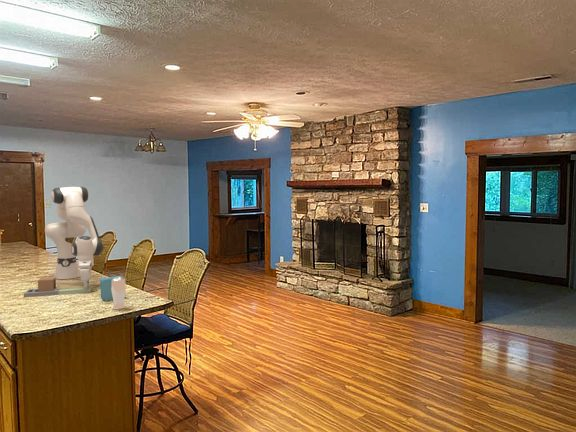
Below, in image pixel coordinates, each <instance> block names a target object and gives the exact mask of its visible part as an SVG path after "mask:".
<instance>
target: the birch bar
mask: <svg viewBox="0 0 576 432" xmlns="http://www.w3.org/2000/svg"><path fill="white" fill-rule="evenodd" d="M56 287H57V290H61V289H75V288H86V287H84V283H83V281H81V279H80V280H67V281H56Z"/></svg>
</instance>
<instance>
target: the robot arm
mask: <svg viewBox="0 0 576 432" xmlns="http://www.w3.org/2000/svg"><path fill="white" fill-rule="evenodd" d="M50 196H51V197H50V198H51V200H52V202H53V203H54V204H57V211H56V212H57V217H58V218H60V219H61V220H62V221H61V222H60V221H59V222H51V223H48V224H47V225H45V227H44V235H45V236H46V237H47V238H48V239H50V240H51V241H53V243H54V244H55V246H56V249H57V250H56V251H57V259H56V261H57V262H56V263H57V264H56V265H55V266H54V275H53V276H52V277H56V280H71V279H77V278H80V280H81V281H83V283H84V287H87V285H90V277H91V275H92V268H93V266H94V264H95V260H94V259H95V258H94V256H99V255H101V254H102V253H103V251H104V243H103V242H102V240H101V238H100V235H99V232H98V229H97V227H96V224H95V221H94V218H93V217H92V216H91V215H89V214H88V213H87V210H86V207H85V203H86V202H87V201H88V200H89V190H88V189H87V188H86V187H84V186H66V187H65V186H63V187H55V188H53V189H52V190H51V195H50ZM87 230H88V233H89V236H87V235H85V233H86V231H87ZM68 238H70V239H71V238H77V240H76V241H73V243H71V242H68V241H66V239H68Z"/></svg>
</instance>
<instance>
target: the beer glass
mask: <svg viewBox="0 0 576 432" xmlns="http://www.w3.org/2000/svg"><path fill="white" fill-rule="evenodd" d="M126 287H127V286H126V279H125V277H123V278H115V279H112V280H111V292H112V296H113V300H112V301H113V305H112V310H123V309H125V308H126V304H125V297H126V290H127V289H126Z"/></svg>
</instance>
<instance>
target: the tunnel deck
mask: <svg viewBox="0 0 576 432" xmlns="http://www.w3.org/2000/svg"><path fill="white" fill-rule="evenodd" d="M92 290H93V284H87V287H86V288H75V289H61V290H57V279H56V277H53V276H50V277H48V276H47V277H40V278H39V279H38V280H37V287H35V288H28V289H27V290H26V291H25V292H24V293H23V297H24V298H28V297H31V298H32V297H44V296H57V295H70V294H72V295H73V294H84V293H91V292H92Z"/></svg>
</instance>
